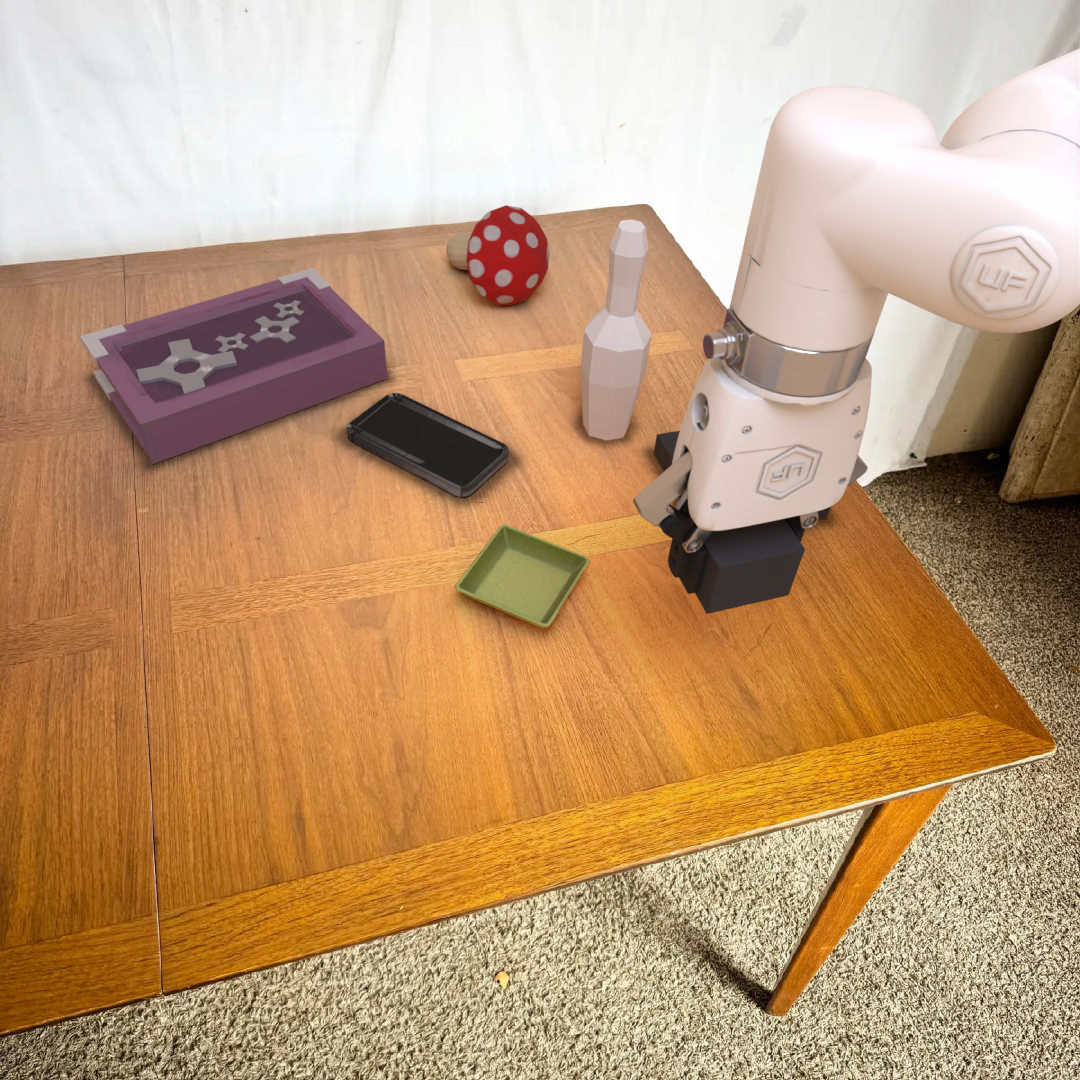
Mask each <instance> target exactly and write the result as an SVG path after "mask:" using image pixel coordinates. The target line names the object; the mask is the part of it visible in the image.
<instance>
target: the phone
mask: <svg viewBox="0 0 1080 1080" xmlns="http://www.w3.org/2000/svg"><path fill="white" fill-rule="evenodd" d="M346 433H347V438H348V440H349V442H351V443H353V444H355V445H357V446H359V447H361V448H363V449H365V450H366V451H368V452H371V453H372V454H374V455H376V456H378V457H380V458H381V459H384V460H386V461H388V462H390V463H391V464H393V465H396V466H397V467H400V468H401V469H404V470H405V471H407V472H409V473H411V474H413V475H414V476H417V477H419V478H421V479H423V480H425V482H429V483H430V484H432V485H434V486H436V487H438V488H440V489H442V490H443V491H445V492H447V493H449V494H451V495H453V496H455V497H458V498H467V497H470V496H471V495H473V494H474V493H475V492H477V491H478V490H479V489H480V488H481V487H482V486H483V485H484V484H485V483H486V482H487V481H488V480H489V479H491V478H492V477H493V476H494V475H495V474H496V473H497V472H498V471H499V470H500V469H501V468H503V467H504V466H505V465H506V464H507V462H508V461H509V453H510V451H509V446H508V445H507V444H505V443H504V442H501V441H499V440H498V439H496V438H493V437H491V436H489V435H488V434H485V433H483V432H481V431H479V430H476V429H475V428H473V427H471V426H469V425H467V424H464V423H462V422H460V421H458V420H456V419H455V418H452V417H450V416H448V415H446V414H444V413H442V412H439V411H437V410H436V409H434V408H431V407H429V406H428V405H425V404H424V403H421V402H419V401H417V400H415V399H413V398H410V397H409V396H407V395H405V394H402V393H400V392H391V393H388V394H386V395H385V396H383V397H382V398H380V399H379V400H378V401H377V402H375V403H374V404H372V405H371V406H370V407H368V408H367V409H366V410H365V411H363V412H362V413H361V414H359V415H358V416H357V417H355V418H354V419H352V420H351V421H350V422H349V423H348V424H347V425H346Z"/></svg>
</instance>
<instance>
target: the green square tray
mask: <svg viewBox="0 0 1080 1080" xmlns="http://www.w3.org/2000/svg"><path fill="white" fill-rule="evenodd" d="M590 563H591V559H590V558H589V557H587V556H586V555H584V554H581V553H578V552H576V551H573V550H571V549H569V548H566V547H563V546H561V545H559V544H555V543H553V542H552V541H548V540H546V539H543V538H541V537H538V536H536V535H533V534H531V533H528V532H526V531H524V530H520V529H518V528H515V527H513V526H510V525H508V524H506V523H505V524H502V525H500V526H498V528H497V529H496V531H495V532H494V534H493V535H492V536H491V538H490V539H489V540H488V541H487V543H486V545H484V547H483V549H482V550H481V551H480V553H479V554H478V555H477V556H476V558H475V560H474V561H473V562H472V563H471V564H470V566H469V567H468V569H466V571H465V572H464V573H463V575H462V576H461V578H460V579H459V580H458V581H457V583H456V584H455V586H454V587H455V590H456V591H458V592H459V593H460V594H461V595H464V596H465V597H467V598H469V599H472V600H474V601H476V602H479V603H481V604H483V605H485V606H488V607H491V608H492V609H495V610H497V611H500V612H502V613H505V614H507V615H510V616H512V617H514V618H517V619H518V620H521V621H523V622H525V623H528V624H530V625H533V626H535V627H538V628H541V629H546V628H549V627H550V626H551V625H552V623H553V621H554V620H555V618H556V616H557V615H558V613H559V611H560V610H561V608H562V607H563V606H564V604H565V603H566V601H567V599H568V597H569V596H570V594H571V593H572V591H573V590H574V588H575V586H576V584H577V583H578V582H579V580H580V578H581V577H582V575H583V574H584V572H585V570H586V569H587V567H588V566H589V564H590Z"/></svg>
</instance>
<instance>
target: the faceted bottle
mask: <svg viewBox="0 0 1080 1080" xmlns="http://www.w3.org/2000/svg"><path fill="white" fill-rule="evenodd" d="M648 241H649V240H648V236H647V229H646V225H644V223H643V222H642V221H640V220H636V219H624V220H623V219H622V220H620V222H619V223H618V225H617V227H616V229H615V232H614V234H613V236H612V239H611V241H610V244H609V246H608V281H607V290H606V298H605V304H604V306H602V307H601V308H600V309H599V310H598V311H597V312H596V313H595V314H594V315H592V317H591V318H590V320H589V322H588V323H587V325H586V326H585V328H584V330H583V338H582V346H581V348H582V349H581V358H580V387H581V410H582V411H581V412H582V426H583V427H584V429H585V431H586V433H587V435H588V436H589V437H592V438H596V439H599V440H603V441H612V440H618V439H623V438H624V437H625V435H626V433H627V431H628V430H629V426H630V423H631V421H632V417H633V414H634V411H635V407H636V404H637V401H638V398H639V395H640V392H641V389H642V384H643V381H644V378H645V375H646V372H647V366H648V361H649V354H650V347H651V341H652V335H653V334H652V332H651V331H650V329H649V328H648V326H647V324H646V323H645V321H644V319H643V317H642V316H641V314H640V312H638V304H639V297H640V291H641V283H642V279H643V274H644V270H645V265H646V261H647V258H648V255H649V250H650V248H649V243H648Z"/></svg>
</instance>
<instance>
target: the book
mask: <svg viewBox="0 0 1080 1080" xmlns="http://www.w3.org/2000/svg"><path fill="white" fill-rule="evenodd" d="M79 338H80V340H81V343H82V346H83V347H84V348H85V350H86V351H87V354H88V355H89V356H90V358H91V359H92V361H93V362H94V364H95V365H96V367H99V368H100V369H96V370H93V375H94V378H95V380H96V381H97V383H98V385H99V386H100V388H101V389H102V390H103V392H104V394H105V395H106V397H107V398H108V400H109V401H110V402H111V403H112V405H114V408H115V409H116V411H117V412H118V414H119V415H120V417H121V418H122V420H123V422H125V424H126V426H127V427H128V429H129V430H130V432H131V433H132V435H133V436H134V438H135V439H136V441H137V442H138V444H139V445H140V447H141V448H142V450H143V451H144V453H145V454H146V456H147V458H148V459H149V460H150V462H151V464H152V465H155V464H157V463H160V462H163V461H167V460H168V459H171V458H174V457H177V456H180V455H182V454H185V453H187V452H190V451H193V450H197V449H199V448H202V447H204V446H206V445H209V444H213V443H215V442H219V441H220V440H221V441H222V440H224V439H227V438H229V437H232V436H234V435H238V434H240V433H242V432H246V431H247V430H252V429H253V428H256V427H258V426H261V425H265V424H268V423H270V422H272V421H275V420H278V419H281V418H283V417H287V416H290V415H292V414H294V413H297V412H300V411H303V410H306V409H308V408H311V407H313V406H316V405H319V404H322V403H325V402H328V401H330V400H333V399H335V398H338V397H342V396H344V395H346V394H350V393H352V392H356V391H357V390H360V389H363V388H365V387H368V386H371V385H374V384H377V383H379V382H382V381H386V380H387V379H388V373H387V372H388V371H387V358H386V357H387V356H386V345H385V340H384V338H383V337H382V336H381V335H379V334H378V332H377V331H376V330H375V329H374V328H373V327H372V326H371V325H369V323H367V321H365V320H364V319H363V318H362V317H361V315H359V314H358V313H357V312H356V311H355V310H354V309H353V307H351V306H350V305H349V304H348V303H347V302H346V301H345V300H344V299H343V298H342V297H341V296H340V295H339V294H338V293H337V292H336V290H334V289H333V288H332V286H331V284H330V283H329V282H328V281H327V280H326V279H325V278H324V277H322V275H321V274H320V273H318V272H317V271H316V269H315V268H314V267H310V268H306V269H303V270H300V271H296V272H293V273H289V274H286V275H284V276H279V277H277V279H275V280H271V281H268V282H265V283H261V284H258V285H255V286H251V287H247V288H245V289H241V290H238V291H235V292H231V293H228V294H224V295H220V296H218V297H217V296H216V297H214V298H210V299H207V300H204V301H201V302H197V303H194V304H190V305H188V306H187V305H186V306H184V307H181V308H176V309H174V310H171V311H166V312H164V313H159V314H157V315H153V316H149V317H147V318H143V319H139V320H136V321H133V322H130V323H127V324H123V323H121V324H118V325H113V326H111V327H107V328H104V329H101V330H97V331H94V332H90V333H86V334H84V335H80V336H79Z"/></svg>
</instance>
